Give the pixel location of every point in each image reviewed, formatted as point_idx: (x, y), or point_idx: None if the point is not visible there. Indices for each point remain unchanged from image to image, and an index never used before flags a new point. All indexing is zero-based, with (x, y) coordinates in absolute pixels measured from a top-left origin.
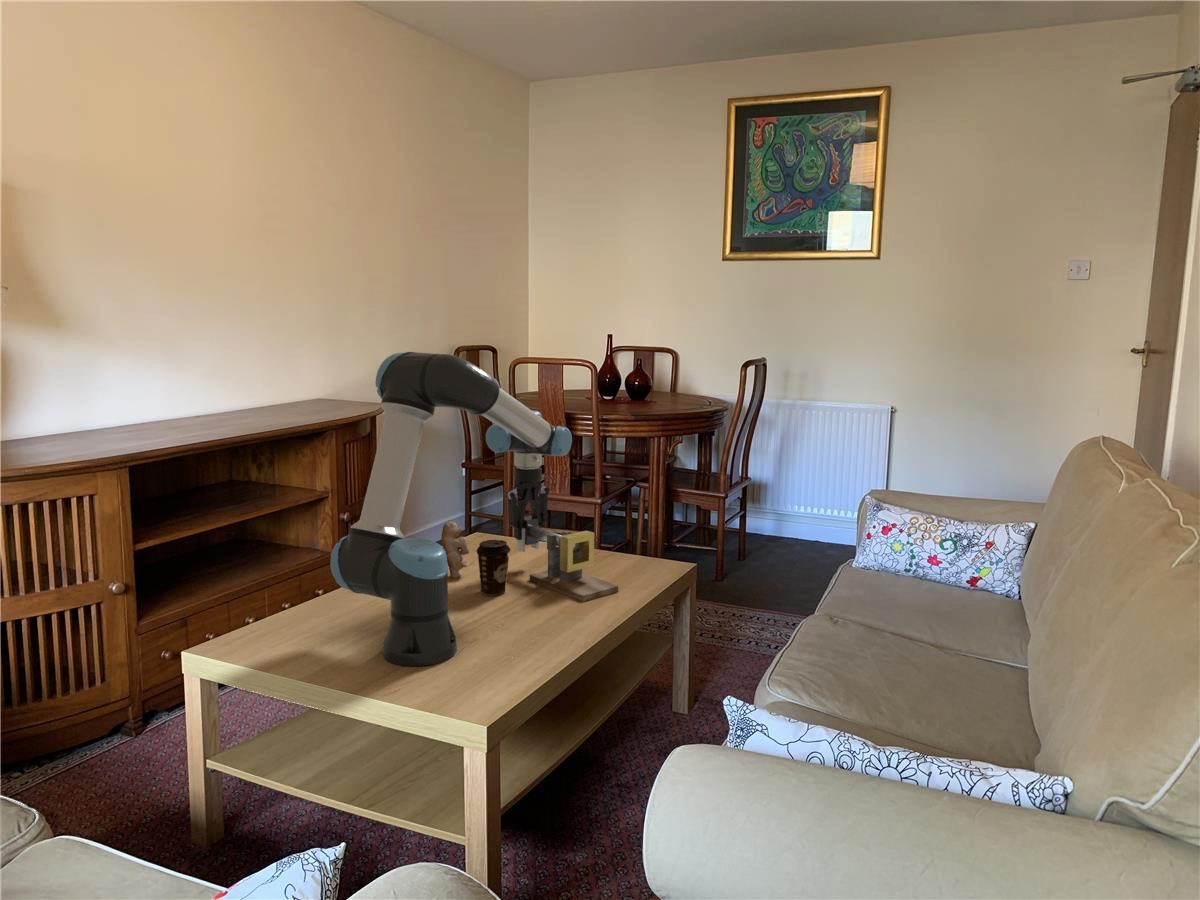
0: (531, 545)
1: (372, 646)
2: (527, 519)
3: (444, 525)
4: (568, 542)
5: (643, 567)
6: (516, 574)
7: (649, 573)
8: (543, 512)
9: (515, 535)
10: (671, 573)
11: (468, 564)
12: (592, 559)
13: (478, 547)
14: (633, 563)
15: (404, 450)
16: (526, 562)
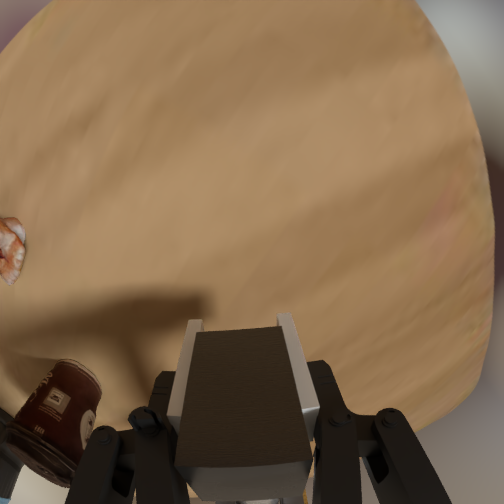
0: (277, 323)
1: None
2: (219, 496)
3: None
4: None
5: (440, 389)
6: (171, 320)
7: (415, 415)
8: (376, 494)
9: (154, 389)
10: (429, 419)
11: (18, 272)
12: None
13: (6, 431)
14: (453, 365)
15: None
16: (280, 221)
